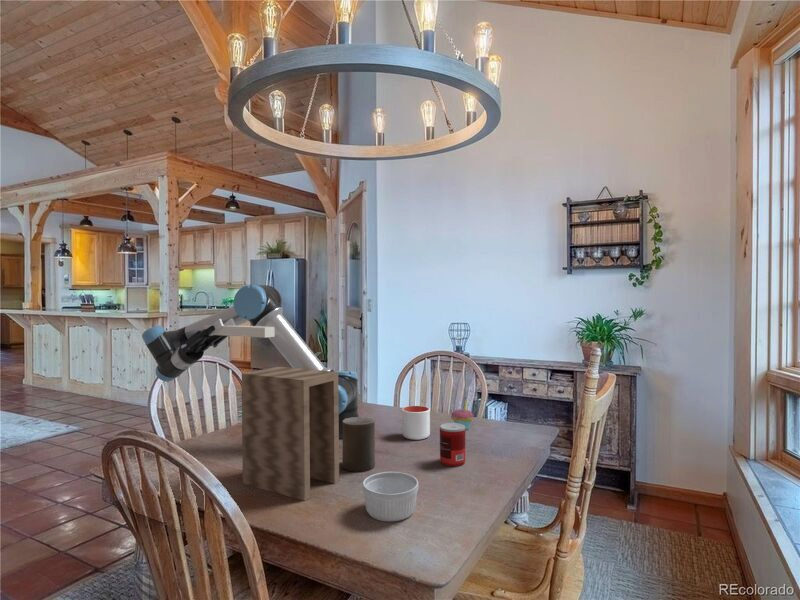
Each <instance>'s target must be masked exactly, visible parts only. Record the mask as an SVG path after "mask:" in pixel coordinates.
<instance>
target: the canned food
mask: <svg viewBox="0 0 800 600" xmlns="http://www.w3.org/2000/svg"><path fill="white" fill-rule="evenodd" d="M439 461H440V463H441V464H442V465H443V466H445V467H461V466H463V465H464V464H465V462H466V430H465V426H464V425H462V424H459V423H455V422H446V423H442V424H441V425H439Z"/></svg>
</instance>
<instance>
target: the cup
mask: <svg viewBox="0 0 800 600" xmlns="http://www.w3.org/2000/svg"><path fill="white" fill-rule="evenodd" d="M401 429H402V430H401V433H402V436H403V437H404V438H406V439H408V440H412V441H413V440H414V441H417V440H419V441H420V440H425V439H427V438H429V437H430V435H431V409H430V407H427V406H424V405H409V406H405V407H402V408H401Z"/></svg>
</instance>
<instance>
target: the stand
mask: <svg viewBox="0 0 800 600" xmlns="http://www.w3.org/2000/svg"><path fill="white" fill-rule="evenodd" d="M333 371H334V370H333ZM333 371H322V370H311V369H300V368H292V367H290V366H289V367H286V366H275V367H269V368H263V369H259V370H253V371H249V372H242V373H241V428H242V429H241V434H242V435H241V436H242V437H241V439H242V442H241V443H242V446H241V448H242V484H243V485H245V486H249V485H250V487H254V488H257V489H261V490H263V491H268V492H271V493H275V494H279V495H282V496H286V497H288V498H289V497H291V498H293V499H296V500H301V501H307V500H309V499H310V498H311V479H313V478H314V480H317V479H318V481H321V480H322V481H323V482H325V481H326V483H330V484H337V483H338V482H340V439H339V405H338V372H333ZM322 481H321V482H322Z"/></svg>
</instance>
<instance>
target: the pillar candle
mask: <svg viewBox="0 0 800 600" xmlns="http://www.w3.org/2000/svg"><path fill="white" fill-rule="evenodd" d="M375 422H376V421H375V419H374V418H372V417H370V416H369V417H367V416H360V415H359V416H358V417H352V418H347V419H345V420H343V439H342V468H343V469H345V470H346V471H349V472H353V473H354V472H355V473H359V472H368V471H370V470H372V469H374V468H375V466H376V440H375V439H376V437H375V436H376V428H375V427H376V425H375V424H376V423H375Z"/></svg>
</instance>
